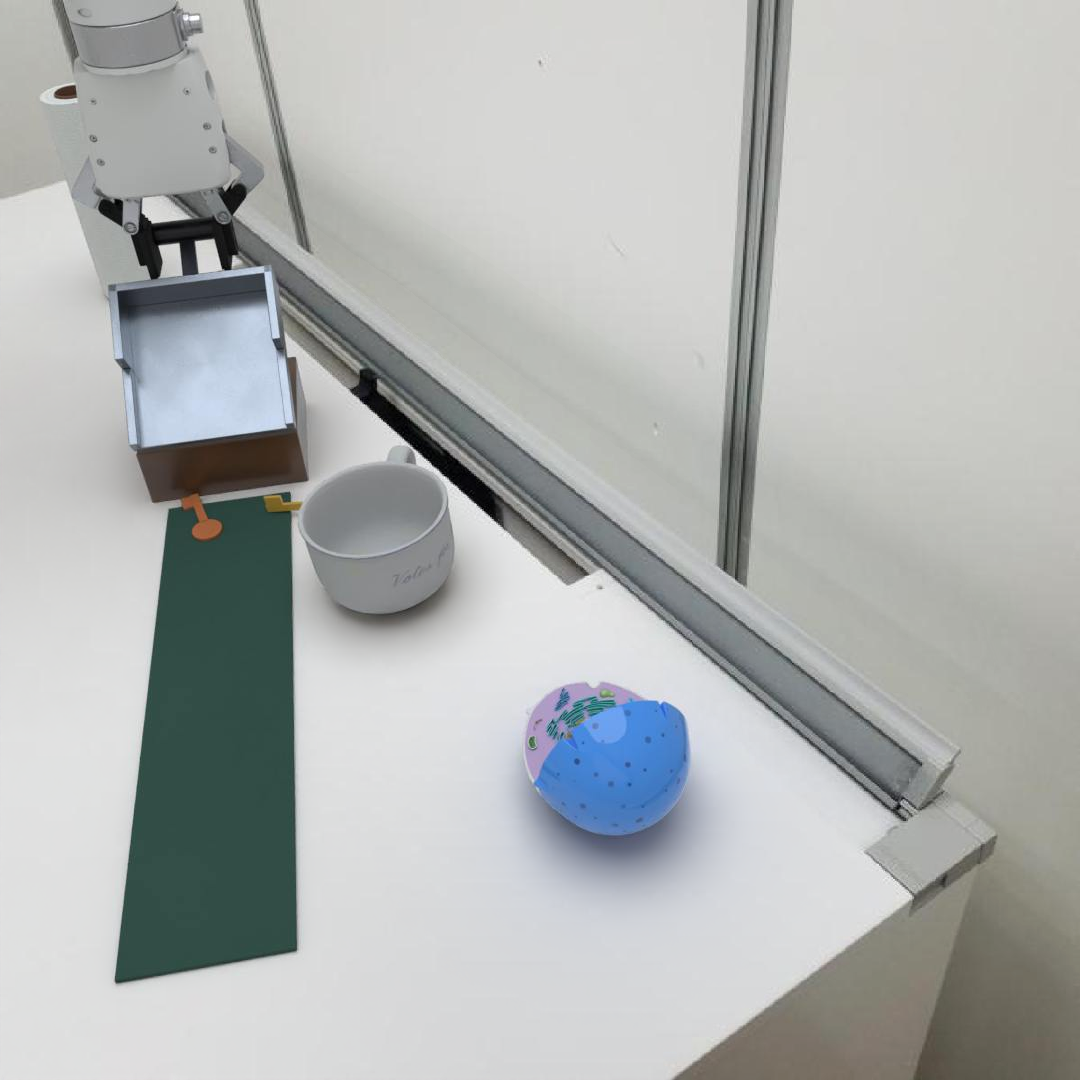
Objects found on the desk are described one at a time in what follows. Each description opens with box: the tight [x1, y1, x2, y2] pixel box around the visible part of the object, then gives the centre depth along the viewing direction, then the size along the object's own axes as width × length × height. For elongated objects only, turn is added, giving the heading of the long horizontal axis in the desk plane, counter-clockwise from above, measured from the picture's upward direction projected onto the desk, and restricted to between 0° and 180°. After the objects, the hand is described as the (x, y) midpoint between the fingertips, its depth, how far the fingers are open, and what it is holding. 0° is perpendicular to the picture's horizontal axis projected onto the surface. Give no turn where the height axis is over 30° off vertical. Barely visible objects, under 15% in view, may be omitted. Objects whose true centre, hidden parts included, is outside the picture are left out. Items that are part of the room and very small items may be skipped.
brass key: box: [264, 495, 304, 512], centre depth 93 cm, size 6×2×1 cm
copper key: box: [179, 493, 223, 541], centre depth 94 cm, size 6×2×1 cm, turn 25°
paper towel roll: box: [38, 74, 160, 300], centre depth 118 cm, size 7×6×21 cm
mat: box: [114, 491, 298, 984], centre depth 80 cm, size 42×10×1 cm, turn 10°
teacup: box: [297, 444, 455, 615], centre depth 86 cm, size 14×11×8 cm
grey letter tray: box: [108, 215, 297, 452], centre depth 93 cm, size 18×13×4 cm
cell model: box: [521, 680, 692, 837], centre depth 69 cm, size 10×12×10 cm
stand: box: [135, 356, 309, 503], centre depth 100 cm, size 12×13×5 cm
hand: (192, 265), depth 94 cm, fingers closed on grey letter tray, 5 cm apart
